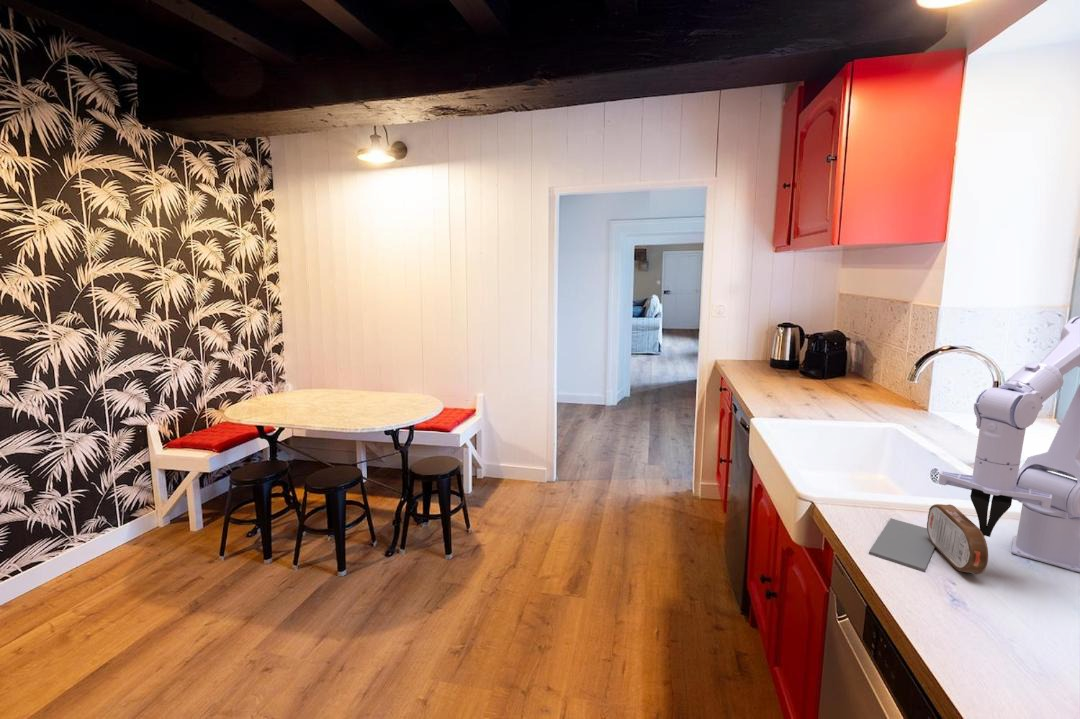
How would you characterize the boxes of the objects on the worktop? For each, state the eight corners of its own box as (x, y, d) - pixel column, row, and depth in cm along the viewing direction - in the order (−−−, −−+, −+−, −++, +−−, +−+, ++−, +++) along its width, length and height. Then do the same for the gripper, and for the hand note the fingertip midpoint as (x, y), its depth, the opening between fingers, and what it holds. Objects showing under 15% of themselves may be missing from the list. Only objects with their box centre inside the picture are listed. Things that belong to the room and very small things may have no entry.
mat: (940, 534, 105) (940, 532, 105) (924, 571, 92) (924, 569, 92) (890, 520, 111) (890, 518, 111) (868, 553, 98) (869, 551, 98)
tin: (983, 584, 89) (996, 539, 87) (962, 581, 89) (974, 536, 87) (937, 536, 103) (947, 497, 101) (919, 534, 104) (928, 494, 102)
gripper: (940, 454, 92) (930, 527, 94) (1056, 477, 82) (1042, 558, 84) (946, 444, 97) (936, 514, 99) (1056, 465, 87) (1042, 541, 89)
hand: (985, 533), depth 92 cm, fingers closed
